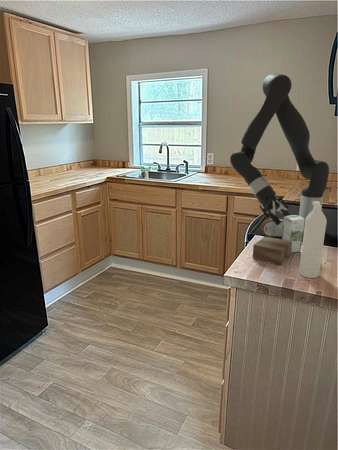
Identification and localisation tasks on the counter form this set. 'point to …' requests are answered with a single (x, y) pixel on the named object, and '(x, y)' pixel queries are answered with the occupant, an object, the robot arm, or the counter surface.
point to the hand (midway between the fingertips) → (284, 221)
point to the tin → (272, 228)
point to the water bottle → (313, 242)
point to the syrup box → (293, 231)
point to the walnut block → (272, 250)
